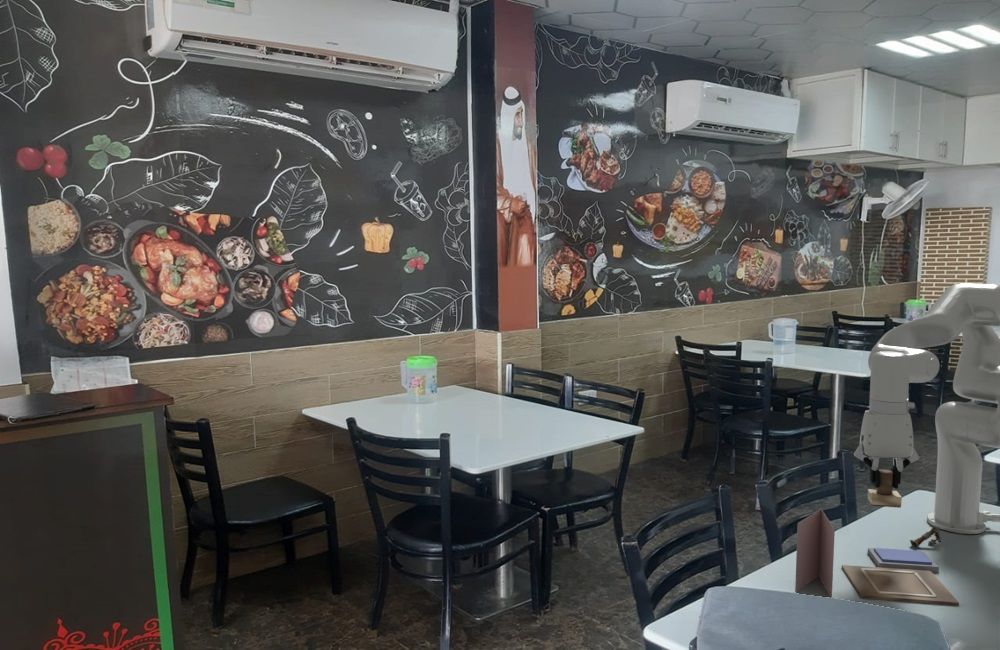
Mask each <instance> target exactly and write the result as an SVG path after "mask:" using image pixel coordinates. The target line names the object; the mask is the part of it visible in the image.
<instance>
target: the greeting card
mask: <svg viewBox="0 0 1000 650" xmlns="http://www.w3.org/2000/svg"><path fill="white" fill-rule="evenodd" d="M796 529H797V530H796V532H797V533H796V554H795V555H796V558H795V584H794V585H795V587H794V590H795V591H794V593H795V592H796V593H798V592H799V591H800V590H802V589H803V588H804V587H805V585H806V586H807V585H808V584H809V583H811V582H813V580H815V579H816V578H817V577H819V579H820V581H821V583H822V585H823V586H824V589H825V591H826V593H827V594H828V596H829V598H830V597H832V598H833V580H834V579H833V578H834V559H835V558H834V556H835V555H834V554H835V534H836V533H835V530H836V529H835V528H834V526H833V525H832V523H831V522H830V520H829V518H828V517H827V516H826V514H825V512H824V511H823V510H822V508H819V509H818V510H817V511H815V512H814V513H812V514H810V515H808V516H807V517H805V518H803V519H802V520H801V521H799V522H797V528H796ZM803 586H804V587H803ZM802 587H803V588H802ZM801 588H802V589H801ZM799 589H800V590H799ZM798 590H799V591H798ZM797 591H798V592H797Z"/></svg>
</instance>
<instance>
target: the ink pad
mask: <svg viewBox="0 0 1000 650" xmlns="http://www.w3.org/2000/svg"><path fill="white" fill-rule="evenodd" d="M867 554H868V556H869V557H870V559H872V561H873V562H874V563H875V565H876V566H877V567H880V568H895V569H910V570H925V571H931V572H932V573H939V571H940V570H939V569H940V567H939V565H938V564H937V563H936V562H935V561H934V560H933V559H932V558H931V557H930V556H929V555H928V554H927V553H926V552H925V551H923V550H911V549H897V548H896V549H895V548H880V547H874V548H873V547H867Z"/></svg>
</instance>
